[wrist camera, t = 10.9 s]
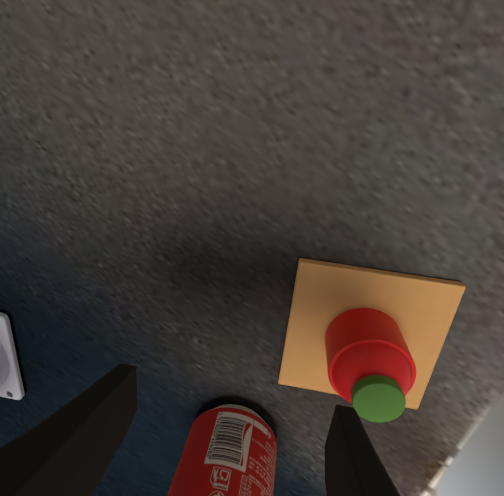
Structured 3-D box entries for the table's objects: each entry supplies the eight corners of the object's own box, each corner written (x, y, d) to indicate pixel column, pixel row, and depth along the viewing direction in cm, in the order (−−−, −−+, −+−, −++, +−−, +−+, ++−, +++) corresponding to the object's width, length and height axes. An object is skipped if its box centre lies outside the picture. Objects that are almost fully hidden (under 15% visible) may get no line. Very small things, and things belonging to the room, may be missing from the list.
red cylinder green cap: (318, 361, 21) (323, 428, 17) (332, 301, 20) (340, 358, 15) (390, 374, 21) (413, 445, 16) (410, 314, 19) (442, 375, 15)
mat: (278, 377, 23) (278, 384, 22) (299, 257, 20) (299, 261, 19) (415, 402, 22) (417, 409, 22) (461, 281, 19) (466, 286, 18)
